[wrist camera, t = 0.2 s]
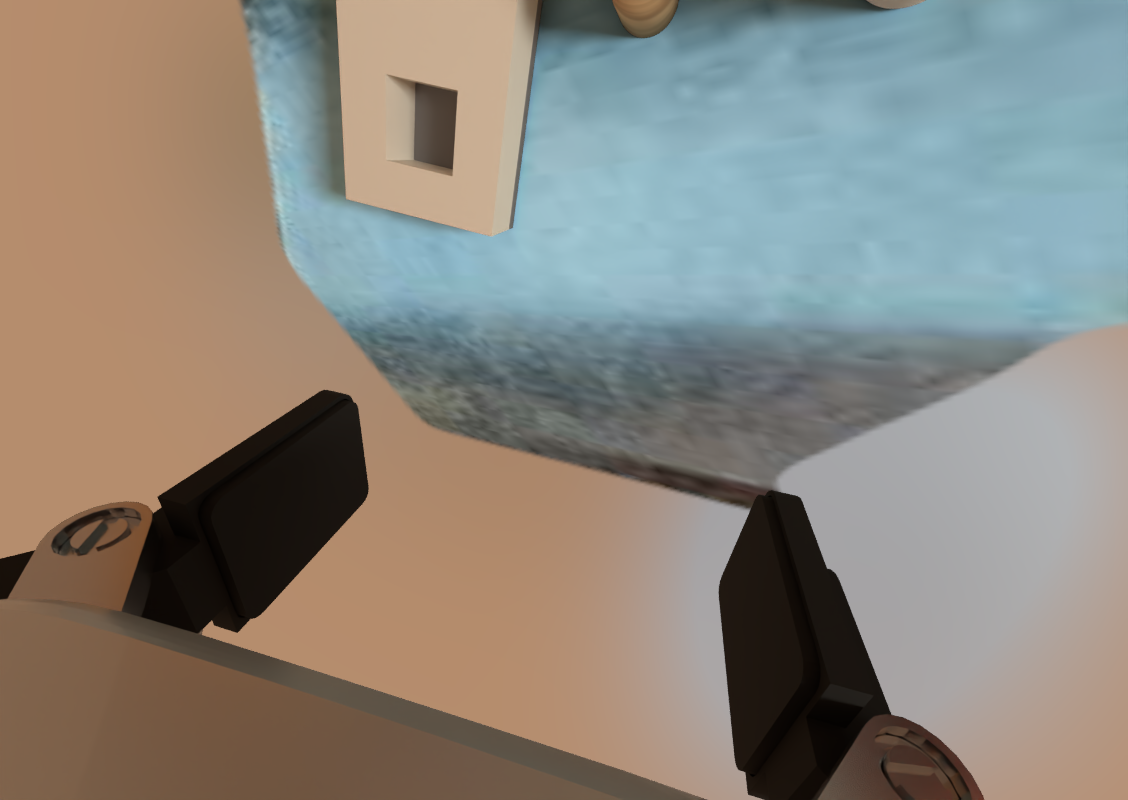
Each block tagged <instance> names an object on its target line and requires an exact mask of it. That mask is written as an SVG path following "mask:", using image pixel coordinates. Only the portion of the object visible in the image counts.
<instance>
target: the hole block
mask: <svg viewBox="0 0 1128 800" xmlns="http://www.w3.org/2000/svg"><path fill="white" fill-rule="evenodd" d="M542 1H543V0H336V6H337V26H338V46H339V66H340V86H341V106H342V126H343V146H344V166H345V186H346V199H348V200H352V201H356V202H360V203H364V204H368V205H372V206H375V207H379V208H383V209H387V210H391V211H395V212H399V213H402V214H406V215H410V216H414V217H418V218H422V219H426V220H430V221H433V222H437V223H441V224H445V225H449V226H453V227H457V228H461V229H464V230H468V231H472V232H476V233H480V234H484V235H488V236H494V235H496V234H499V233H501V232H503V231H506V230H508V229H511V228H513V222H514V214H515V206H516V199H517V191H518V183H519V176H520V168H521V161H522V153H523V145H524V138H525V130H526V123H527V115H528V107H529V100H530V92H531V85H532V77H533V69H534V62H535V54H536V47H537V39H538V31H539V24H540V16H541V8H542Z"/></svg>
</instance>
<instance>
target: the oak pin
mask: <svg viewBox="0 0 1128 800" xmlns="http://www.w3.org/2000/svg"><path fill="white" fill-rule="evenodd" d="M612 1H613V4H614V6H615V9H616V11H617V13H618V16H619V18H620V21H621V23H622V25H623V26H624V28H625V29H626V30H627V31H628V32H629V33H630V34H632V35H634V36H636V37H639V38H648V37H652V36H655V35H657V34H659V33H660V32H661V31H663V30H664V29H665V28H666V27H667V26H668V24H669V23H670V22H671V20H672V18H673V17H674V15H675V12H676V10H677V6H678V2H679V0H612Z"/></svg>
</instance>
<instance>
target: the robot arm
mask: <svg viewBox="0 0 1128 800" xmlns="http://www.w3.org/2000/svg"><path fill="white" fill-rule="evenodd" d="M367 494H368V480H367V472H366V465H365V457H364V450H363V443H362V434H361V427H360V419H359V412H358V407H357V404H356V403H354V402H353V400H352V398H351V397H350V396H349V395H346V394H343V393H338V392H334V391H329V390H323V391H320V392H319V393H317V394H316V395H314V396H312V397H311V398H309V399H308V400H306V401H305V402H303V403H302V404H300V405H299V406H297V407H295V408H294V409H292V410H291V411H289V412H288V413H286V414H285V415H283V416H282V417H280V418H279V419H277V420H276V421H274V422H272V423H271V424H269V425H268V426H266V427H265V428H263V429H261V430H260V431H259V432H257V433H255V434H254V435H252V436H251V437H249V438H248V439H246V440H245V441H243V442H241V443H240V444H238V445H237V446H235V447H234V448H232V449H231V450H229V451H228V452H226V453H225V454H223V455H221V456H220V457H219V458H217V459H215V460H214V461H213V462H211V463H209V464H208V465H206V466H204V467H203V468H201V469H200V470H198V471H197V472H195V473H194V474H192V475H191V476H189V477H188V478H186V479H184V480H183V481H181V482H180V483H178V484H177V485H175V486H174V487H172V488H170V489H169V490H168V491H166V492H164V493H163V494H161V495H160V496H158V499H159V502H160V504H161V506H162V508H160V509H159V510H157V511H156V512H154V513H153V512H152V511H151V510H150V508H149V507H148V506H146V505H144V504H141V503H139V502H117V503H110V504H106V505H102V506H97V507H94V508H91V509H88V510H86V511H83V512H81V513H78V514H76V515H74V516H72V517H70V518H69V519H67V520H65V521H63V522H61V523H60V524H58V525H57V526H56V527H54V528H53V529H52V530H50V531H49V532H48V533H47V534H46V536H45V537H44V538H43V539H42V540H41V541H40V543H39V545H38V546H37V548H36V550H34V551H30V552H26V553H22V554H18V555H15V556H10V557H6V558H2V559H0V800H706V799H704V798H701V797H698V796H695V795H692V794H689V793H686V792H683V791H680V790H677V789H675V788H672V787H669V786H666V785H663V784H660V783H658V782H655V781H652V780H649V779H646V778H643V777H640V776H637V775H634V774H631V773H629V772H626V771H623V770H620V769H617V768H614V767H611V766H607V765H605V764H602V763H598V762H596V761H592V760H589V759H586V758H583V757H580V756H577V755H574V754H571V753H568V752H565V751H562V750H559V749H556V748H553V747H550V746H546V745H543V744H541V743H537V742H534V741H531V740H528V739H525V738H522V737H519V736H516V735H513V734H510V733H507V732H504V731H501V730H498V729H494V728H492V727H489V726H486V725H482V724H479V723H476V722H473V721H470V720H467V719H464V718H461V717H458V716H455V715H451V714H448V713H445V712H442V711H439V710H436V709H433V708H430V707H427V706H424V705H420V704H417V703H414V702H411V701H408V700H405V699H402V698H399V697H395V696H392V695H389V694H386V693H383V692H380V691H376V690H374V689H371V688H367V687H364V686H361V685H358V684H355V683H351V682H349V681H346V680H342V679H339V678H336V677H333V676H330V675H327V674H324V673H321V672H317V671H314V670H311V669H308V668H305V667H302V666H298V665H295V664H292V663H289V662H286V661H283V660H279V659H276V658H273V657H270V656H266V655H263V654H260V653H257V652H254V651H250V650H247V649H244V648H241V647H238V646H235V645H232V644H229V643H225V642H222V641H219V640H216V639H213V638H209V637H206V636H203V635H202V631H203V628H204V627H205V626H206V625H207V624H208V623H209V622H210V621H211V620H212V621H213V623H214V625H215V626H218V627H221V628H224V629H227V630H231V631H233V632H237V633H238V632H239V631H240V630H241V629H242V627H243V626H244V625H245V624H246V623H247V622H248V621H249V620H250V619H253V618H256V617H258V616H259V615H261V614H262V612H264V611H265V610H266V609H267V607H268V606H269V605H270V604H271V603H272V602H273V601H274V600H275V599H276V598H277V597H278V595H279V594H280V593H281V592H282V591H283V590H284V589H285V588H286V587H287V586H288V585H289V583H290V582H291V581H292V580H293V579H294V578H295V577H296V576H297V575H298V574H299V572H300V571H301V570H302V569H303V568H304V567H305V566H306V565H307V564H308V563H309V562H310V560H311V559H312V558H313V557H314V556H315V555H316V554H317V553H318V552H319V551H320V550H321V548H322V547H323V546H324V545H325V544H326V543H327V542H328V541H329V540H330V538H331V537H332V536H333V535H334V534H335V533H336V532H337V531H338V530H339V529H340V528H341V526H342V525H343V524H344V523H345V522H346V521H347V520H348V519H349V518H350V517H351V516H352V514H353V513H354V512H355V511H356V510H357V509H358V508H359V507H360V506H361V505H362V503H363V502H364V501H365V499H366V497H367ZM719 602H720V613H721V623H722V633H723V644H724V653H725V664H726V674H727V685H728V695H729V705H730V715H731V726H732V736H733V746H734V756H735V763H736V766H737V768H738V770H740V771H744V772H745V773H746V781H747V791H748V795H751V796H755V797H758V798H761V799H764V800H984V798H983V795H982V793H981V791H980V789H979V787H978V786H977V784H976V782H975V780H974V778H973V776H972V775H971V773H970V772H969V771H968V770H967V768H966V767H965V766H964V765H963V763H962V762H961V761H960V759H959V758H958V757H957V756H956V755H955V754H954V753H953V752H952V751H951V750H950V749H949V748H948V747H947V746H946V745H945V744H944V743H943V742H942V741H941V740H940V739H938V738H937V737H936V736H934V735H933V734H932V733H930V732H929V731H927V730H926V729H924V728H923V727H922V726H920V725H918V724H916V723H914V722H912V721H910V720H907V719H905V718H903V717H899V716H894V715H891V712H890V710H889V707H888V705H887V702H886V700H885V697H884V694H883V692H882V689H881V687H880V684H879V682H878V679H877V676H876V674H875V671H874V669H873V666H872V664H871V661H870V658H869V656H868V653H867V651H866V648H865V645H864V643H863V640H862V638H861V635H860V632H859V630H858V627H857V625H856V622H855V620H854V617H853V615H852V612H851V609H850V607H849V604H848V602H847V599H846V596H845V594H844V591H843V589H842V586H841V583H840V581H839V579H838V577H837V575H836V574H835V573H834V572H833V571H832V570H831V569H827V567H826V565H825V562H824V560H823V557H822V554H821V551H820V549H819V546H818V543H817V540H816V538H815V535H814V532H813V530H812V527H811V524H810V521H809V519H808V516H807V513H806V511H805V508H804V505H803V502H802V500H801V498H800V497H798V496H795V495H790V494H786V493H781V492H777V491H773V490H770V491H768V492H767V494H766V495H765V496H764V495H758V496H757V497H756V499H755V501H754V503H753V506H752V508H751V510H750V512H749V515H748V517H747V520H746V522H745V524H744V526H743V529H742V531H741V533H740V536H739V538H738V540H737V542H736V545H735V547H734V550H733V552H732V554H731V556H730V559H729V561H728V563H727V566H726V568H725V570H724V572H723V575H722V577H721V580H720V585H719Z"/></svg>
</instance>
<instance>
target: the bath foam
mask: <svg viewBox="0 0 1128 800" xmlns="http://www.w3.org/2000/svg"><path fill="white" fill-rule="evenodd" d="M867 1H868V2H870V3H871V4H873V5H876V6H878V7H882V8H887V9H899V8H906V7H910V6H913V5H916V4H919V3H921V2H924V1H926V0H867Z"/></svg>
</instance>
